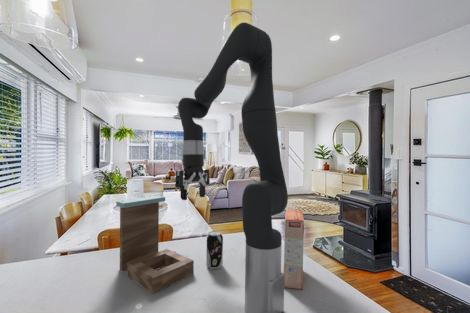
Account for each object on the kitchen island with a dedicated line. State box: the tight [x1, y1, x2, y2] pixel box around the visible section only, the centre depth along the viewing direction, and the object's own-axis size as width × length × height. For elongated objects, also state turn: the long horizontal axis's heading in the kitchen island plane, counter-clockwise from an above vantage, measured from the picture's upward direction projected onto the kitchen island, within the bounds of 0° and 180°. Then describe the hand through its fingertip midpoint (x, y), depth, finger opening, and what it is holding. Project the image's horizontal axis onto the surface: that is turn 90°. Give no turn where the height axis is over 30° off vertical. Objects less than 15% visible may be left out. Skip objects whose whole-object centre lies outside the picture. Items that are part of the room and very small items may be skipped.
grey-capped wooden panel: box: [115, 195, 166, 272], centre depth 87 cm, size 5×16×24 cm, turn 141°
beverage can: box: [205, 230, 224, 270], centre depth 86 cm, size 6×6×12 cm
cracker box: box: [283, 209, 305, 290], centre depth 79 cm, size 14×6×21 cm, turn 167°
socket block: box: [126, 248, 195, 294], centre depth 79 cm, size 15×15×4 cm
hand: (193, 198), depth 87 cm, fingers open, 8 cm apart
